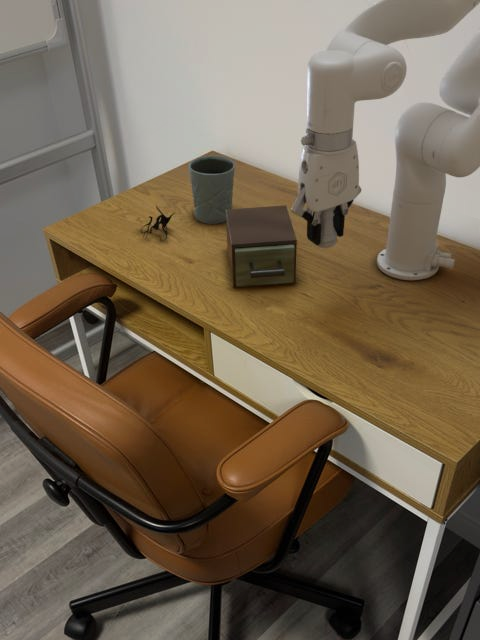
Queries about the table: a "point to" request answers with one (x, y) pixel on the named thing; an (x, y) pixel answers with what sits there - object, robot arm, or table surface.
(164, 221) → the creature
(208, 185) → the grey green cup
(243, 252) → the drawer
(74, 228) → the table surface
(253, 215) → the cabinet
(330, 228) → the rook chess piece
